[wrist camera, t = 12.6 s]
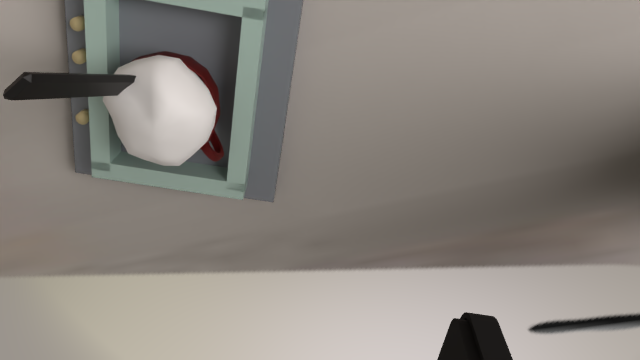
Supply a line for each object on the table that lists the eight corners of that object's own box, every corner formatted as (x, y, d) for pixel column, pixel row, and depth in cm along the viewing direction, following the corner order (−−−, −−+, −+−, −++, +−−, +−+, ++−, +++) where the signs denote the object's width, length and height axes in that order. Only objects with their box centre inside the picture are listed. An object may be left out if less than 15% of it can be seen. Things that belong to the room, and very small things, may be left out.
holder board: (306, -20, 30) (304, -14, 27) (274, 194, 37) (270, 216, 34) (70, -63, 29) (42, -62, 26) (82, 165, 36) (61, 185, 33)
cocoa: (245, 134, 34) (222, 238, 23) (159, 157, 34) (98, 268, 24) (192, -7, 29) (133, 41, 19) (94, 22, 30) (-17, 85, 19)
